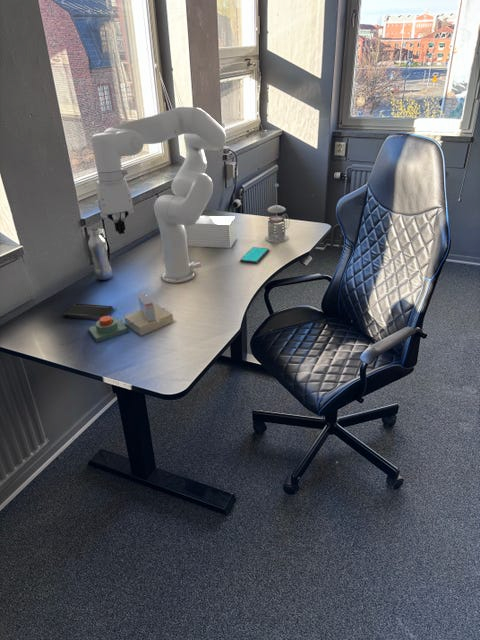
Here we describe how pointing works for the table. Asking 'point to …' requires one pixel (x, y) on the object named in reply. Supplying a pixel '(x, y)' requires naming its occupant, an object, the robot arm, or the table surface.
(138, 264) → the table surface
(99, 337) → the button box
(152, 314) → the grey block
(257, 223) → the table surface
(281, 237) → the french press
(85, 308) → the phone
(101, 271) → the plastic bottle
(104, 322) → the button
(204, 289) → the table surface
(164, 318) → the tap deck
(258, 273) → the table surface
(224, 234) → the white storage box
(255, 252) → the smartphone
